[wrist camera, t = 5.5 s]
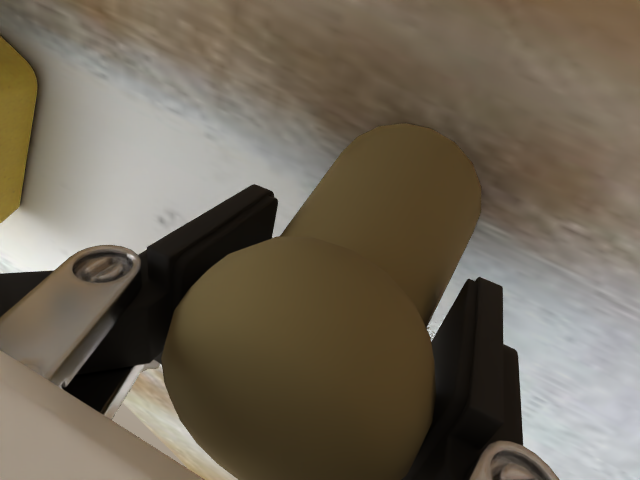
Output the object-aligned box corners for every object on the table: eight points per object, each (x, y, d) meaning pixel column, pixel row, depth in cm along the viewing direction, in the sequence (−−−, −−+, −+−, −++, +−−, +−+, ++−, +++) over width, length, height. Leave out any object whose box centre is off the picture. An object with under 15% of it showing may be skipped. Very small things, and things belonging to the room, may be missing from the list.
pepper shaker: (389, 87, 13) (156, 189, 4) (521, 198, 13) (569, 543, 4) (304, 204, 17) (79, 394, 8) (407, 292, 17) (300, 587, 8)
